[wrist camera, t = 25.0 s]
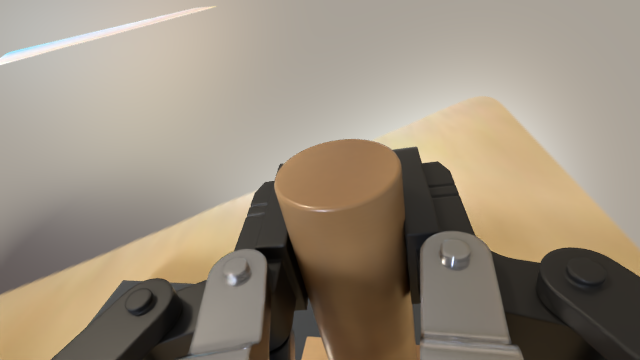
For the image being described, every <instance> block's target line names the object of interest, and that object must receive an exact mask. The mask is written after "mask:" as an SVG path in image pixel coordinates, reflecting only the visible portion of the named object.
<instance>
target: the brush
mask: <svg viewBox="0 0 640 360" xmlns="http://www.w3.org/2000/svg"><path fill="white" fill-rule="evenodd" d="M274 189H275V192H276V196H277V199H278V202H279V205H280V208H281V212H282V215H283V218H284V221H285V224H286V227H287V231H288V234H289V237H290V240H291V243H292V246H293V250H294V253H295V256H296V259H297V262H298V266H299V269H300V272H301V275H302V278H303V281H304V285H305V288H306V291H307V294H308V297H309V300H310V304H311V307H312V310H313V313H314V316H315V320H316V323H317V326H318V329H319V332H320V335H321V337H307V339H306V343H305V347H304V351H303V355H302V359H301V360H420V345H416V343H415V330H414V318H413V305H412V302H411V296H410V287H409V276H408V264H407V253H406V241H405V229H404V221H405V205H404V192H403V180H402V167H401V162H400V160H399V158H398V156H397V155H396V153H395V152H394V151H393V150H391V149H390V148H389V147H387V146H385V145H383V144H380V143H378V142H374V141H369V140H360V139H345V140H336V141H330V142H326V143H322V144H318V145H315V146H313V147H310V148H308V149H305V150H303V151H301V152H299V153H298V154H296V155H295V156H293V157H292V158H290V159H289V160H288V161H287V162H285V163H284V164H283V166H282V167H281V168H280V169H279V171H278V173H277V175H276V178H275V183H274Z"/></svg>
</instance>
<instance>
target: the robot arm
mask: <svg viewBox="0 0 640 360" xmlns="http://www.w3.org/2000/svg"><path fill="white" fill-rule="evenodd" d="M393 151H394V152H395V153H396V155H397V156H398V158H399V160H400V162H401V167H402V180H403V192H404V205H405V221H404V229H405V241H406V253H407V264H408V276H409V287H410V296H411V302H412V304H421V336H420V360H640V277H639V276H637V275H636V274H634V273H633V272H631V271H630V270H628V269H626V268H625V267H623V266H622V265H620V264H619V263H617V262H615V261H614V260H612V259H610V258H609V257H607V256H605V255H602V254H600V253H597V252H594V251H591V250H587V249H582V248H561V249H557V250H554V251H551V252H550V253H548V254H546V255H545V257H544V258H543V259H542V261H541V263H537V262H530V261H524V260H518V259H513V258H508V257H505V256H501V255H499V254H497V253H494V252H493V251H491V250H490V249H489V247H488V246H487V245H486V244H485V243H484V242H483V241H482V240H481V239H479V238H477V237H476V236H475V234H474V231H473V229H472V226H471V224H470V221H469V219H468V216H467V214H466V211H465V208H464V206H463V203H462V201H461V198H460V196H459V194H458V191H457V188H456V185H455V183H454V180H453V178H452V175H451V173H450V171H449V170H448V169H447V168H446V167H444V166H443V165H442V164H441V163H439V162H430V163H422V162H421V159H420V155H419V152H418V148H417V147H410V148H403V149H395V150H393ZM282 166H283V164H280V165H279V168H278V171H279V169H280V168H281V167H282ZM278 171H277V173H278ZM276 175H277V174H276ZM274 183H275V181H270V182H265V183H264V184H263V185H262V186H261V187H260V188H259V189H258V190H257V192H256V193H255V194H254V197H253V200H252V203H251V207H250V208H249V211H248V214H247V217H246V219H245V222H244V225H243V228H242V231H241V233H240V236H239V239H238V242H237V244H236V247H235V250H234V252H231V253H229V254H227V255H226V256H224V257H222V258H221V259H220V260H219V261H218V262H217V263H216V264H215V265H214V266H213V267H212V269H211V270H210V272H209V275H208V278H207V280H205V281H202V282H199V283H197V284H194V285H191V286H188V287H185V288H182V289H179V290H176V291H175V290H174V288H173V287H172V285H171V284H170V283H169V282H168V281H167V280H164V279H159V278H156V279H149V280H146V281H143V282H141V283H138V284H137V285H135V286H133V287H131V288H130V289H129V290H127V291H126V292H125V293H124V294H123V295H121V296H120V297H119V298H118V299H117V300H116V301H115V302H114V303H113V304H112V305H110V306H109V307H108V308H107V309H106V310H105V311H104V312H103V313H102V314H101V315H99V316H98V317H97V318H96V319H95V320H94V321H93V322H92V323H91V324H90V325H88V326H87V327H86V328H85V329H84V330H83V331H82V332H81V333H80V334H79V335H77V336H76V337H75V338H74V339H73V340H72V341H71V342H70V343H69V344H68V345H66V346H65V347H64V348H63V349H62V350H61V351H60V352H59V353H58V354H57V355H55V356H54V357H53V358H52V359H51V360H295V332H294V329H293V327H292V324H293V318H294V311H297V310H307V306H308V294H307V291H306V288H305V285H304V281H303V278H302V275H301V272H300V269H299V266H298V262H297V259H296V256H295V253H294V250H293V246H292V243H291V240H290V237H289V234H288V231H287V227H286V224H285V221H284V218H283V215H282V212H281V208H280V205H279V202H278V199H277V196H276V192H275V189H274Z"/></svg>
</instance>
